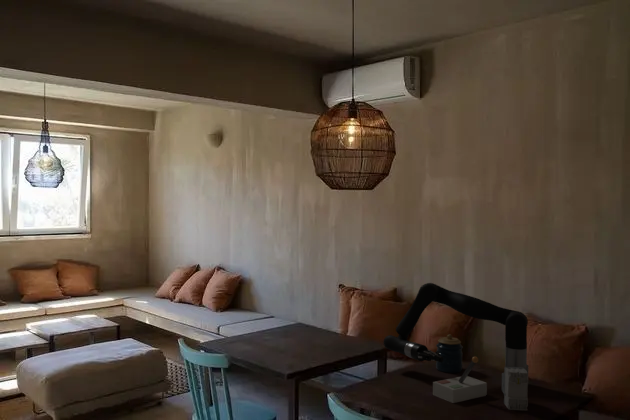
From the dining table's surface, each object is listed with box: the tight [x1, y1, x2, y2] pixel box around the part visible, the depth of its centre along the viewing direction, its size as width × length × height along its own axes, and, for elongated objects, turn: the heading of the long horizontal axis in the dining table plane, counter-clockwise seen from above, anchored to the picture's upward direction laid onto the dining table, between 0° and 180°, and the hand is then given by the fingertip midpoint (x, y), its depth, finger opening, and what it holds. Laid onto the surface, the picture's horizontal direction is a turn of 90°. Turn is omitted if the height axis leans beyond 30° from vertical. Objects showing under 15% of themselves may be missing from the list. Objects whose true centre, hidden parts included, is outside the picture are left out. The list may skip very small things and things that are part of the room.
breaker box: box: [432, 375, 488, 404], centre depth 247 cm, size 20×12×6 cm, turn 121°
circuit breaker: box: [501, 366, 529, 411], centre depth 237 cm, size 8×14×15 cm, turn 174°
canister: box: [435, 333, 464, 374], centre depth 286 cm, size 13×13×18 cm
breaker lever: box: [459, 356, 479, 383], centre depth 243 cm, size 3×3×15 cm
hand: (442, 359), depth 256 cm, fingers closed
